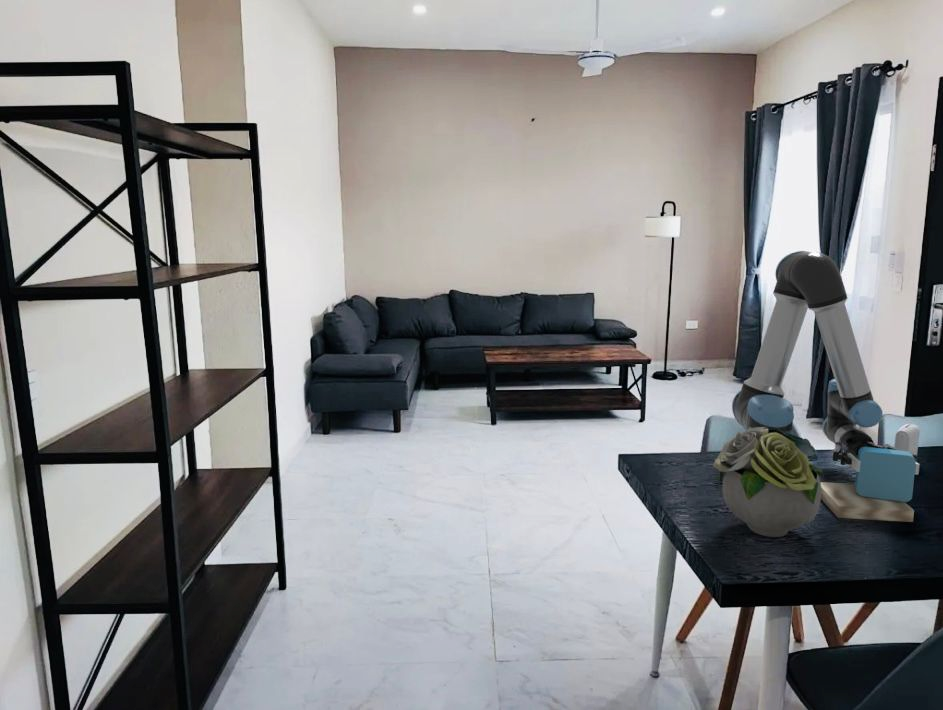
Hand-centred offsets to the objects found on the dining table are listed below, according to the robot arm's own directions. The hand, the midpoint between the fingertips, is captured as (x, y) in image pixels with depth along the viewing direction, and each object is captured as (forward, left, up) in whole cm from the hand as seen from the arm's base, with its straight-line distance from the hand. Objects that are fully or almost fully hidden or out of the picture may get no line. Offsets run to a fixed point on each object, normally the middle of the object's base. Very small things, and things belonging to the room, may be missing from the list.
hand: (887, 468), depth 169 cm
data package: (0, +1, -8) cm, 8 cm away
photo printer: (+21, +37, -11) cm, 44 cm away
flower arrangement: (-32, -17, -11) cm, 38 cm away
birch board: (-5, +2, -11) cm, 12 cm away
